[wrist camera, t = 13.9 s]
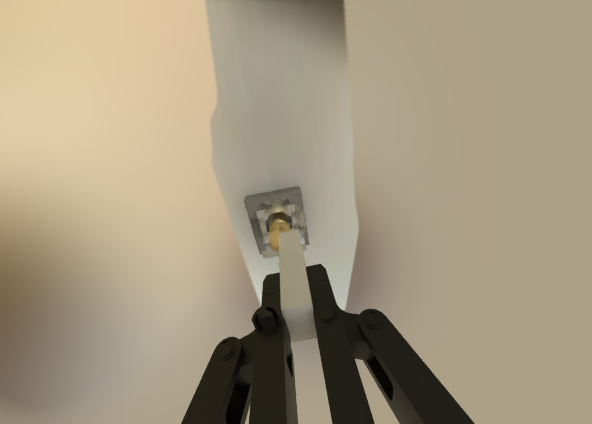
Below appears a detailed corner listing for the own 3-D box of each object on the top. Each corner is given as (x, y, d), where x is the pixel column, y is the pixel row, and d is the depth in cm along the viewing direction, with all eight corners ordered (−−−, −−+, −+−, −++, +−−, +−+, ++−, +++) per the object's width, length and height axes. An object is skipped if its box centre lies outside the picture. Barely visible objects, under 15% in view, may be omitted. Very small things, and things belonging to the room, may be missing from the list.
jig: (245, 196, 46) (242, 205, 41) (299, 186, 46) (301, 194, 42) (260, 247, 52) (259, 260, 48) (307, 238, 52) (310, 250, 48)
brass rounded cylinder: (265, 218, 49) (264, 243, 40) (279, 207, 48) (281, 229, 39) (278, 230, 50) (280, 256, 41) (291, 219, 49) (296, 243, 40)
